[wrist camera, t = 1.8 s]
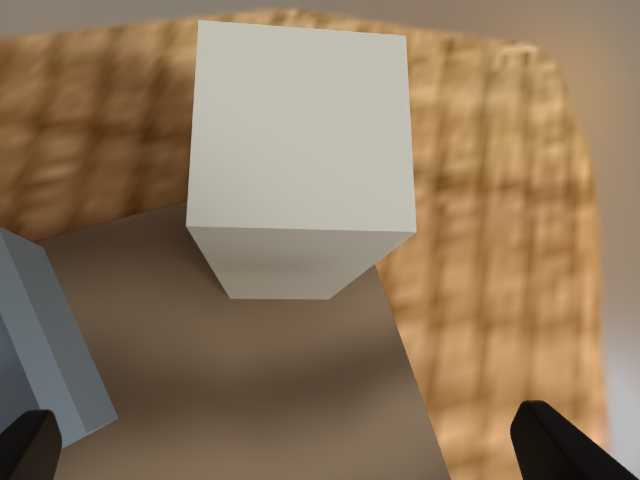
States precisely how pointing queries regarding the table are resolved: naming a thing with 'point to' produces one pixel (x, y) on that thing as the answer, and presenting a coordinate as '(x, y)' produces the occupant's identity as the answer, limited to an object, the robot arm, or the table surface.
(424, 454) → the walnut board
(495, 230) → the table surface
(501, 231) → the table surface
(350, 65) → the tower
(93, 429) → the socket cup
